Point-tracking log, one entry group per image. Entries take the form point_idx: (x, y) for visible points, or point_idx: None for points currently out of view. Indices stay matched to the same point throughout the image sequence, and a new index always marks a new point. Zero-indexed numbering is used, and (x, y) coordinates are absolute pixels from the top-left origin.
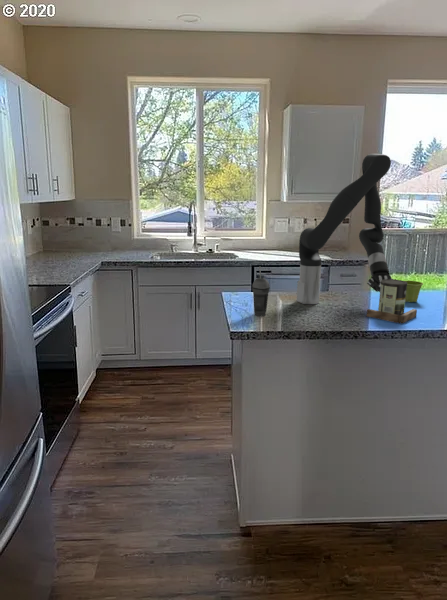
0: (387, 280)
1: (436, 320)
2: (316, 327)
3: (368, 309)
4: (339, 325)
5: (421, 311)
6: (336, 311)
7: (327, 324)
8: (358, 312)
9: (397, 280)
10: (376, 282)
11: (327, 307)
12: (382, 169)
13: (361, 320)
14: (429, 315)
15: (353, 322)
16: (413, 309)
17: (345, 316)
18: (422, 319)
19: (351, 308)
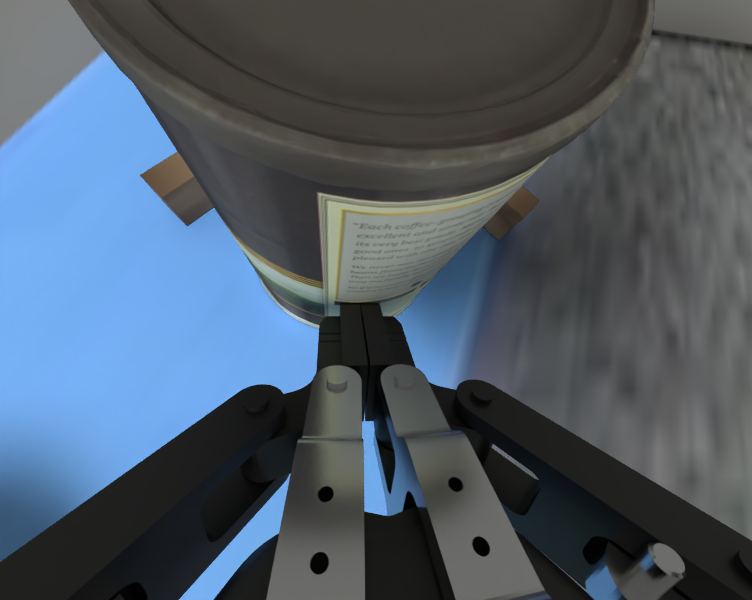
0: (477, 67)
1: (78, 114)
2: (748, 86)
3: (528, 205)
4: (661, 97)
5: (19, 336)
6: (679, 336)
7: (710, 115)
8: (546, 311)
9: (182, 35)
10: (543, 567)
11: (740, 443)
12: None
13: (553, 155)
14: (37, 222)
15: (597, 129)
16: (168, 182)
17: (630, 229)
18: (168, 141)
19: (581, 420)
